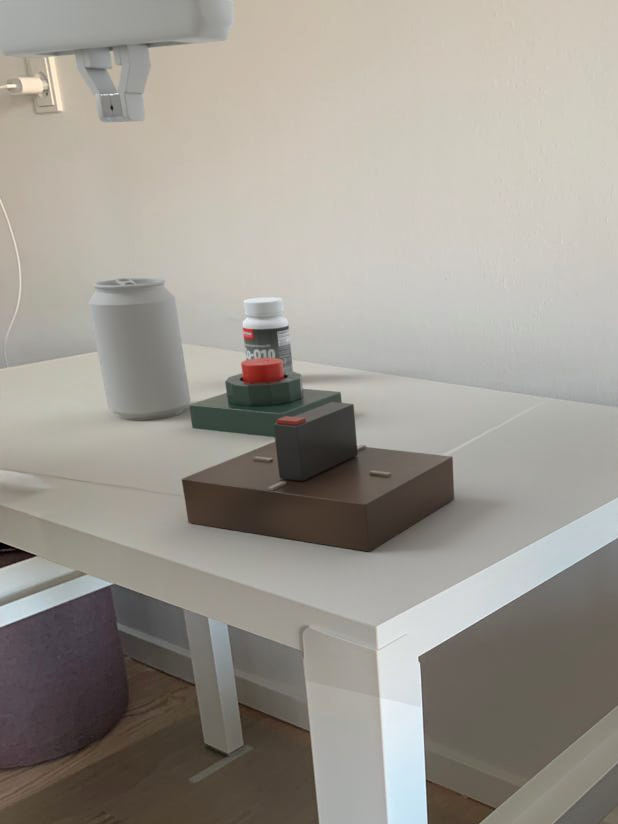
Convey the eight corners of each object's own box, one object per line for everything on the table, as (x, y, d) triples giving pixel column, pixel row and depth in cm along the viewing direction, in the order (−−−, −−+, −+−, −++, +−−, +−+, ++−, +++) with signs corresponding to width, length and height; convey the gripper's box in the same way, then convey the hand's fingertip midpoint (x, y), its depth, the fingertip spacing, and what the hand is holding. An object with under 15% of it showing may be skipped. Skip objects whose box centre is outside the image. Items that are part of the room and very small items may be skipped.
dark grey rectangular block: (335, 452, 69) (330, 398, 67) (358, 455, 68) (353, 400, 67) (279, 478, 64) (272, 420, 62) (302, 481, 63) (296, 422, 61)
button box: (192, 429, 89) (185, 383, 87) (255, 407, 96) (250, 364, 94) (284, 439, 85) (278, 391, 83) (343, 415, 92) (339, 371, 90)
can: (130, 427, 90) (104, 286, 85) (97, 413, 95) (71, 280, 90) (206, 412, 94) (186, 278, 89) (170, 400, 100) (150, 272, 94)
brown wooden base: (188, 522, 66) (180, 476, 64) (288, 477, 75) (283, 435, 73) (369, 552, 60) (365, 501, 59) (454, 499, 69) (452, 453, 67)
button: (235, 384, 88) (232, 363, 87) (260, 376, 91) (258, 356, 90) (268, 387, 86) (265, 366, 86) (292, 378, 89) (290, 359, 89)
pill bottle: (240, 385, 106) (229, 302, 102) (264, 376, 110) (254, 296, 106) (279, 387, 104) (270, 303, 100) (302, 378, 108) (294, 296, 104)
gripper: (-59, -98, 69) (-11, 126, 76) (167, -141, 61) (200, 115, 67) (15, -82, 74) (54, 127, 81) (233, -120, 66) (259, 116, 72)
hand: (122, 121), depth 74 cm, fingers closed
